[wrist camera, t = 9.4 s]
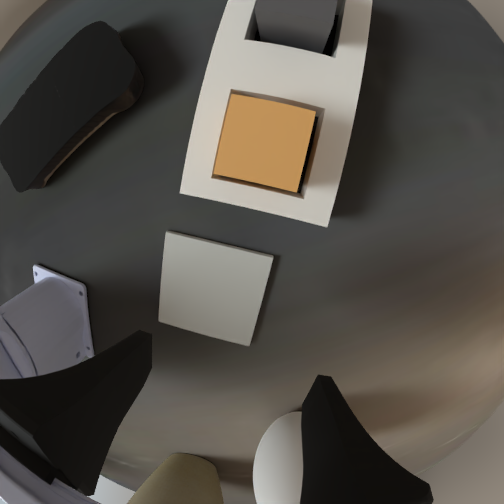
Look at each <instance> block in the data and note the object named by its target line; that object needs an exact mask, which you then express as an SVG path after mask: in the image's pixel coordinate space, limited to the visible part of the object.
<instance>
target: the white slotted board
mask: <svg viewBox="0 0 504 504" xmlns="http://www.w3.org/2000/svg"><path fill="white" fill-rule="evenodd" d="M256 2H257V0H228V2H227V5H226V8H225V11H224V14H223V17H222V20H221V23H220V26H219V29H218V32H217V35H216V39H215V42H214V45H213V48H212V52H211V55H210V59H209V62H208V66H207V69H206V73H205V77H204V81H203V84H202V88H201V92H200V96H199V100H198V105H197V109H196V113H195V117H194V122H193V126H192V131H191V136H190V141H189V145H188V150H187V156H186V161H185V166H184V172H183V177H182V183H181V189H180V193H182V194H187V195H191V196H196V197H201V198H206V199H211V200H215V201H220V202H224V203H229V204H233V205H238V206H242V207H247V208H251V209H255V210H260V211H264V212H268V213H272V214H276V215H281V216H285V217H289V218H293V219H297V220H301V221H305V222H309V223H312V224H316V225H320V226H324V227H327V226H328V223H329V219H330V216H331V212H332V208H333V205H334V201H335V197H336V194H337V190H338V186H339V182H340V178H341V174H342V170H343V166H344V162H345V158H346V153H347V149H348V145H349V140H350V136H351V131H352V126H353V122H354V117H355V112H356V107H357V102H358V97H359V91H360V86H361V80H362V74H363V68H364V62H365V56H366V49H367V42H368V35H369V27H370V19H371V9H372V0H337V6H336V12H335V14H336V15H339V17H338V23H337V28H336V34H335V39H334V44H333V50H332V55H331V57H330V56H327V55H323V54H319V53H315V52H311V51H307V50H303V49H298V48H293V47H289V46H283V45H278V44H272V43H266V42H259V41H254V38H255V35H256V31H257V27H258V24H257V19H256V15H255V10H254V8H255V5H256ZM231 94H236V95H242V96H248V97H254V98H259V99H264V100H269V101H274V102H279V103H283V104H288V105H292V106H296V107H300V108H304V109H308V110H312V111H316V114H315V116H317V117H318V122H317V126H316V131H315V135H314V139H313V144H312V148H311V152H310V156H309V161H308V165H307V169H306V173H305V177H304V181H303V185H302V189H301V193H296V192H292V191H288V190H284V189H280V188H276V187H272V186H267V185H263V184H259V183H254V182H250V181H245V180H240V179H236V178H231V177H226V176H222V175H217V174H214V169H215V164H216V159H217V155H218V150H219V145H220V141H221V136H222V132H223V127H224V123H225V119H226V114H227V110H228V106H229V102H230V98H231Z"/></svg>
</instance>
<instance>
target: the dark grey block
mask: <svg viewBox="0 0 504 504" xmlns="http://www.w3.org/2000/svg"><path fill="white" fill-rule="evenodd" d="M336 6H337V0H257V2H256V5H255V8H254V10H255V15H256V19H257V24H258V29H259V34H260V39H261V42H266V43H272V44H278V45H283V46H289V47H293V48H298V49H303V50H307V51H311V52H315V53H319V54H322V52H323V50H324V47H325V44H326V42H327V39H328V36H329V34H330V31H331V29H332V26H333V23H334V17H335V12H336Z"/></svg>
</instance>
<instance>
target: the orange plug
mask: <svg viewBox="0 0 504 504" xmlns="http://www.w3.org/2000/svg"><path fill="white" fill-rule="evenodd" d="M315 114H316V111H312V110H308V109H304V108H300V107H296V106H292V105H288V104H283V103H279V102H274V101H269V100H264V99H259V98H254V97H248V96H242V95H236V94H231V98H230V102H229V106H228V110H227V114H226V119H225V123H224V127H223V132H222V136H221V141H220V145H219V150H218V155H217V159H216V164H215V169H214V174H217V175H222V176H227V177H232V178H236V179H241V180H246V181H250V182H255V183H259V184H263V185H268V186H272V187H276V188H280V189H284V190H288V191H292V192H296V193H297V190H298V186H299V182H300V178H301V174H302V169H303V165H304V161H305V157H306V153H307V149H308V144H309V140H310V136H311V132H312V127H313V123H314V118H315Z"/></svg>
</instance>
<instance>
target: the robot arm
mask: <svg viewBox="0 0 504 504" xmlns="http://www.w3.org/2000/svg"><path fill="white" fill-rule="evenodd" d="M33 272H34V280H35V284H34V285H32V286H30V287H29V288H27V289H26V290H24V291H23V292H21V293H20V294H18V295H17V296H15V297H14V298H12V299H11V300H9V301H8V302H6V303H5V304H3V305H2V306H0V498H1V499H2V500H3V501H4V502H5V503H6V504H100V503H98V502H96V501H94V500H92V499H91V498H89V497H87V496H91V495H94V492H95V489H96V485H97V482H98V478H99V475H100V472H101V469H102V466H103V464H104V461H105V458H106V455H107V453H108V450H109V448H110V446H111V443H112V441H113V438H114V436H115V434H116V432H117V429H118V427H119V425H120V424H121V422H122V420H123V418H124V417H125V415H126V414H127V412H128V410H129V409H130V407H131V405H132V404H133V402H134V401H135V399H136V397H137V396H138V394H139V393H140V391H141V389H142V388H143V386H144V384H145V382H146V380H147V377H148V375H149V373H150V371H151V368H152V334H149V333H146V332H143V331H141V330H139V331H137V332H135V333H134V334H132V335H130V336H129V337H127V338H125V339H124V340H122V341H120V342H119V343H117V344H116V345H114V346H112V347H110V348H109V349H107V350H105V351H103V352H102V353H100V354H98V355H96V356H94V350H93V344H92V338H91V330H90V322H89V314H88V304H87V291H86V286H85V285H84V284H83V283H81V282H78V281H76V280H73V279H71V278H68V277H66V276H63V275H61V274H59V273H56V272H54V271H51V270H49V269H47V268H44V267H42V266H40V265H38V264H35V265H34V266H33ZM82 293H83V294H82ZM85 356H88V357H90V359H88V360H86V361H84V362H81V360H82V359H83V358H84V357H85ZM93 356H94V357H93ZM80 362H81V363H80ZM301 435H302V453H303V479H302V490H301V498H300V504H432V502H433V496H432V492H431V489H430V485H429V484H428V483H426V482H425V481H423V480H421V479H420V478H418V477H416V476H415V475H413V474H411V473H410V472H409V471H407V470H406V469H404V468H403V467H402V466H400V465H399V464H398V463H397V462H395V461H394V460H393V459H392V458H391V457H390V456H389V455H388V454H387V453H385V452H384V451H383V450H382V449H381V448H380V447H379V446H378V444H377V443H376V442H375V441H374V440H373V439H372V438H371V437H370V435H369V434H368V433H367V432H366V430H365V429H364V428H363V426H362V425H361V424H360V422H359V421H358V420H357V418H356V417H355V415H354V414H353V412H352V411H351V409H350V407H349V406H348V404H347V403H346V401H345V399H344V398H343V396H342V394H341V393H340V391H339V389H338V387H337V386H336V384H335V382H334V381H333V379H332V377H330V376H323V375H317V377H316V379H315V381H314V383H313V385H312V387H311V389H310V391H309V393H308V395H307V397H306V398H305V400H304V402H303V404H302V415H301ZM74 489H75V490H74ZM81 493H82V494H81Z"/></svg>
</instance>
